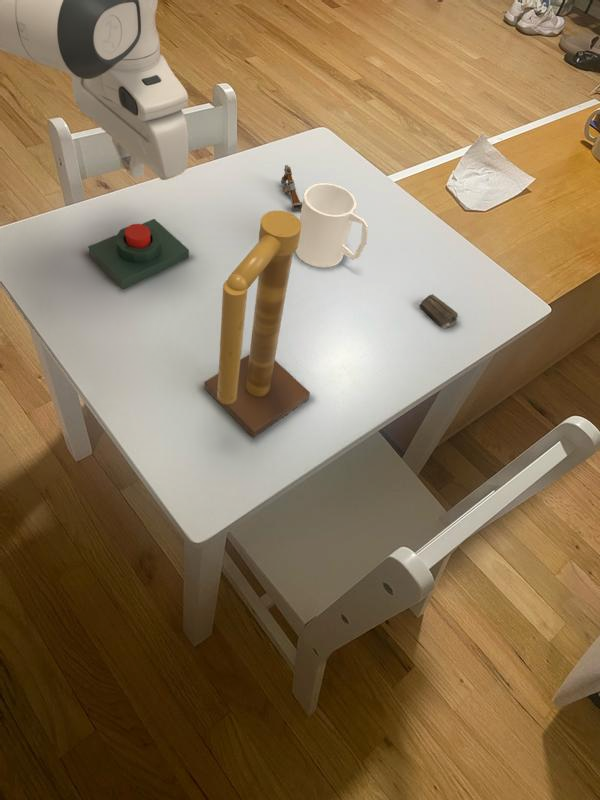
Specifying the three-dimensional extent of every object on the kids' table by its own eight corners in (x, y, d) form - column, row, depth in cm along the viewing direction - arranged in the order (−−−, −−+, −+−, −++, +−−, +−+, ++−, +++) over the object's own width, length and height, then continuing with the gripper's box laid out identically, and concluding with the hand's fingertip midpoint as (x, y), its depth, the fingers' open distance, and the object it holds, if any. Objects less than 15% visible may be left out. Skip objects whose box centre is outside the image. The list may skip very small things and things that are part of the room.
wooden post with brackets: (285, 176, 109) (292, 161, 105) (297, 216, 108) (304, 203, 104) (276, 177, 109) (282, 162, 104) (287, 217, 108) (294, 204, 103)
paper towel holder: (253, 438, 77) (274, 294, 56) (204, 388, 80) (207, 236, 60) (308, 399, 82) (346, 253, 61) (260, 353, 85) (281, 202, 65)
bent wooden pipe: (257, 328, 74) (272, 205, 60) (285, 341, 74) (308, 220, 59) (206, 395, 67) (210, 274, 53) (237, 411, 67) (250, 292, 52)
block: (429, 299, 97) (433, 291, 95) (459, 320, 95) (463, 312, 93) (416, 309, 95) (419, 301, 94) (446, 331, 93) (450, 323, 92)
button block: (123, 289, 89) (121, 271, 86) (89, 255, 92) (86, 236, 89) (189, 258, 95) (188, 240, 92) (154, 227, 98) (153, 209, 95)
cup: (341, 287, 96) (354, 237, 88) (284, 248, 99) (292, 196, 91) (370, 264, 100) (386, 214, 92) (315, 228, 103) (326, 176, 95)
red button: (135, 251, 89) (134, 242, 88) (121, 238, 90) (120, 229, 89) (155, 243, 91) (154, 233, 90) (141, 230, 92) (140, 220, 91)
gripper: (49, 34, 72) (69, 140, 83) (151, 115, 65) (157, 220, 76) (96, 23, 75) (108, 127, 86) (197, 100, 68) (197, 203, 79)
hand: (132, 171), depth 81 cm, fingers closed
